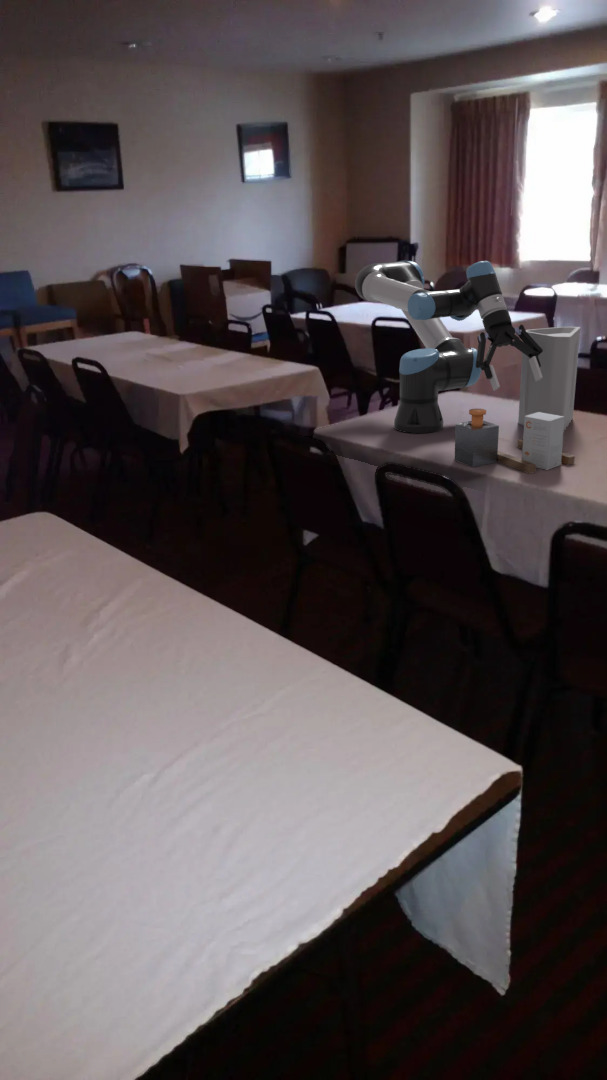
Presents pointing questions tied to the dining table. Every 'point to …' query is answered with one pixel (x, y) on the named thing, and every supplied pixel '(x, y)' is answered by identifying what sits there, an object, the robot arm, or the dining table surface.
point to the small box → (543, 440)
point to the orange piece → (477, 417)
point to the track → (526, 465)
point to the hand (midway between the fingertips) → (518, 384)
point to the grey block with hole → (476, 443)
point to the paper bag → (551, 374)
